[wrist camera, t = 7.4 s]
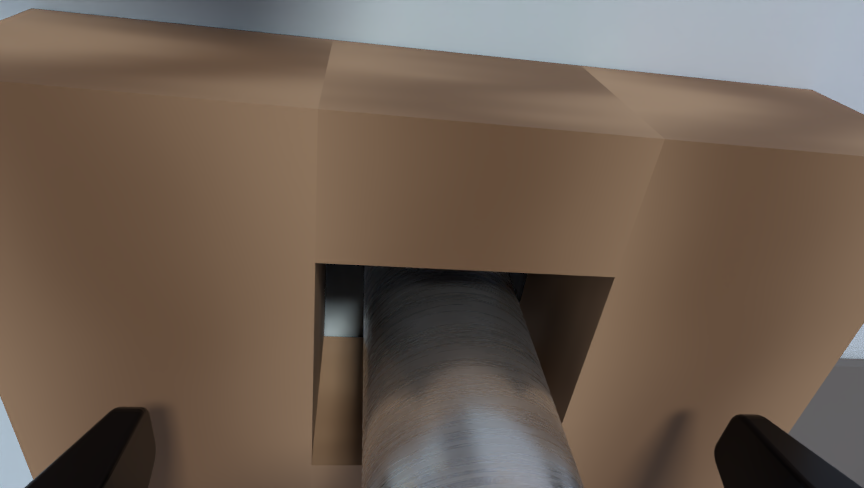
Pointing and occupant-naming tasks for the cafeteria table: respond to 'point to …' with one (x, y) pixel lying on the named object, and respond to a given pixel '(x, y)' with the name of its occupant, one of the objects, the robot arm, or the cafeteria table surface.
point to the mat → (837, 420)
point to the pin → (455, 386)
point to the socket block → (405, 241)
